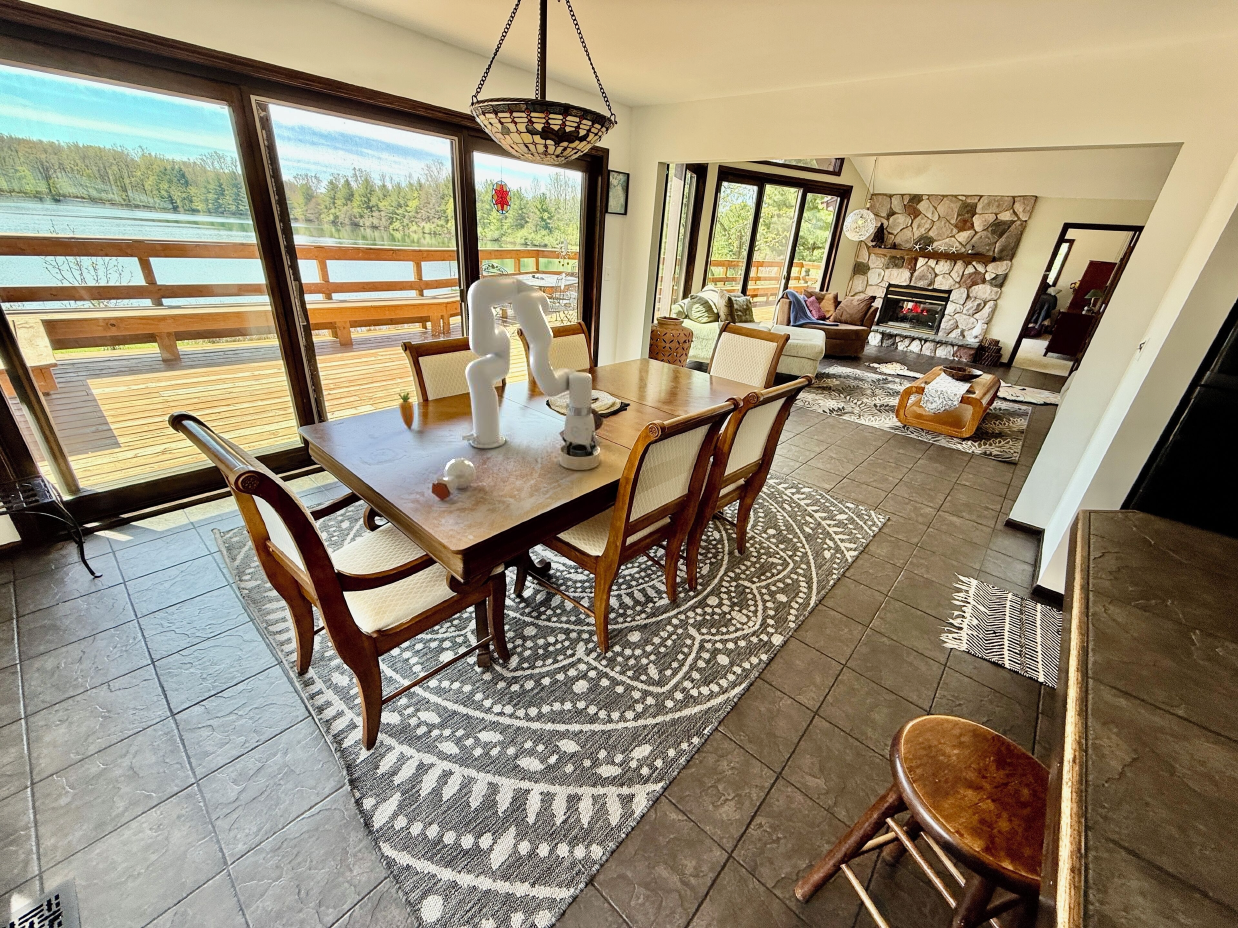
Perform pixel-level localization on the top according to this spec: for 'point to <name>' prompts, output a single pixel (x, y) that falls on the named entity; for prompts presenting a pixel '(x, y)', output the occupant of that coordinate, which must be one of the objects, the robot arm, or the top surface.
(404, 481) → the top surface
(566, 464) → the cream bowl
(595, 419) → the ice cream bowl
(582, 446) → the black bowl
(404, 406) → the carrot
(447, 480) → the potion bottle
